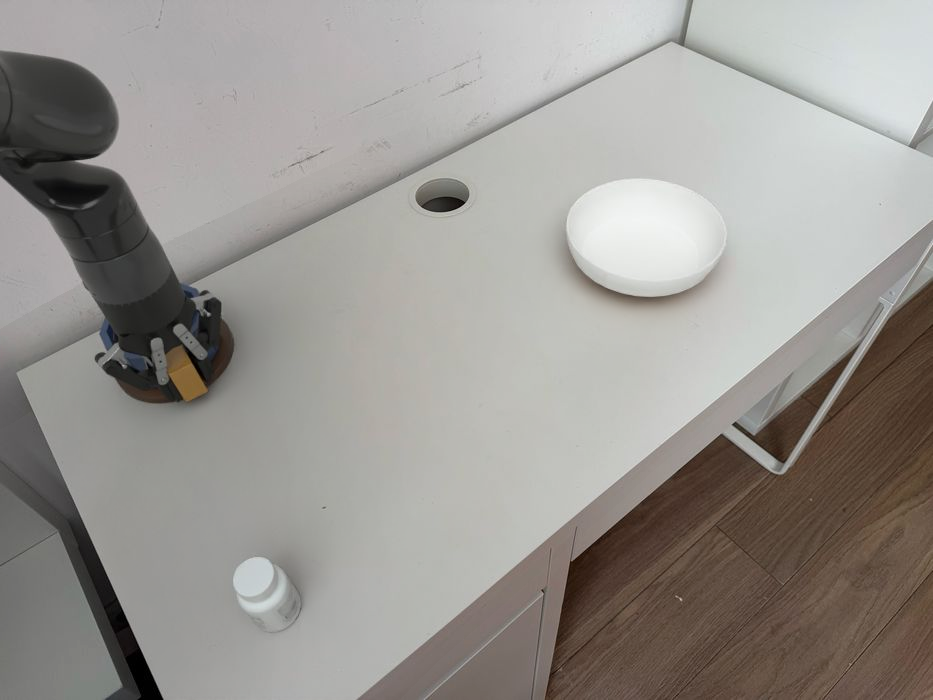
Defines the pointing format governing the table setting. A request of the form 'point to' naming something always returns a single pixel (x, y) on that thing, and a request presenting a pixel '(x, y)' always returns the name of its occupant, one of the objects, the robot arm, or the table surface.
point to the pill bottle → (266, 594)
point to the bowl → (645, 236)
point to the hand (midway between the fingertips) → (191, 386)
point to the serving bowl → (170, 357)
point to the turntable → (219, 366)
